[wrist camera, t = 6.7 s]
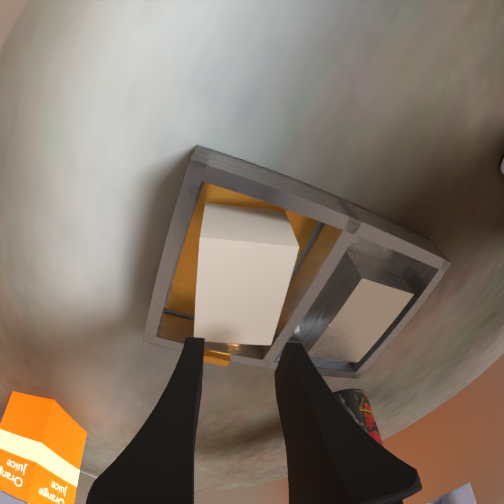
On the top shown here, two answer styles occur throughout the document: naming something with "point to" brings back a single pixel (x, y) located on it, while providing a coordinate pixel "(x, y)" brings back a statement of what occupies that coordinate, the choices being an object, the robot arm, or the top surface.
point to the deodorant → (359, 410)
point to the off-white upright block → (242, 273)
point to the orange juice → (39, 451)
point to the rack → (299, 270)
